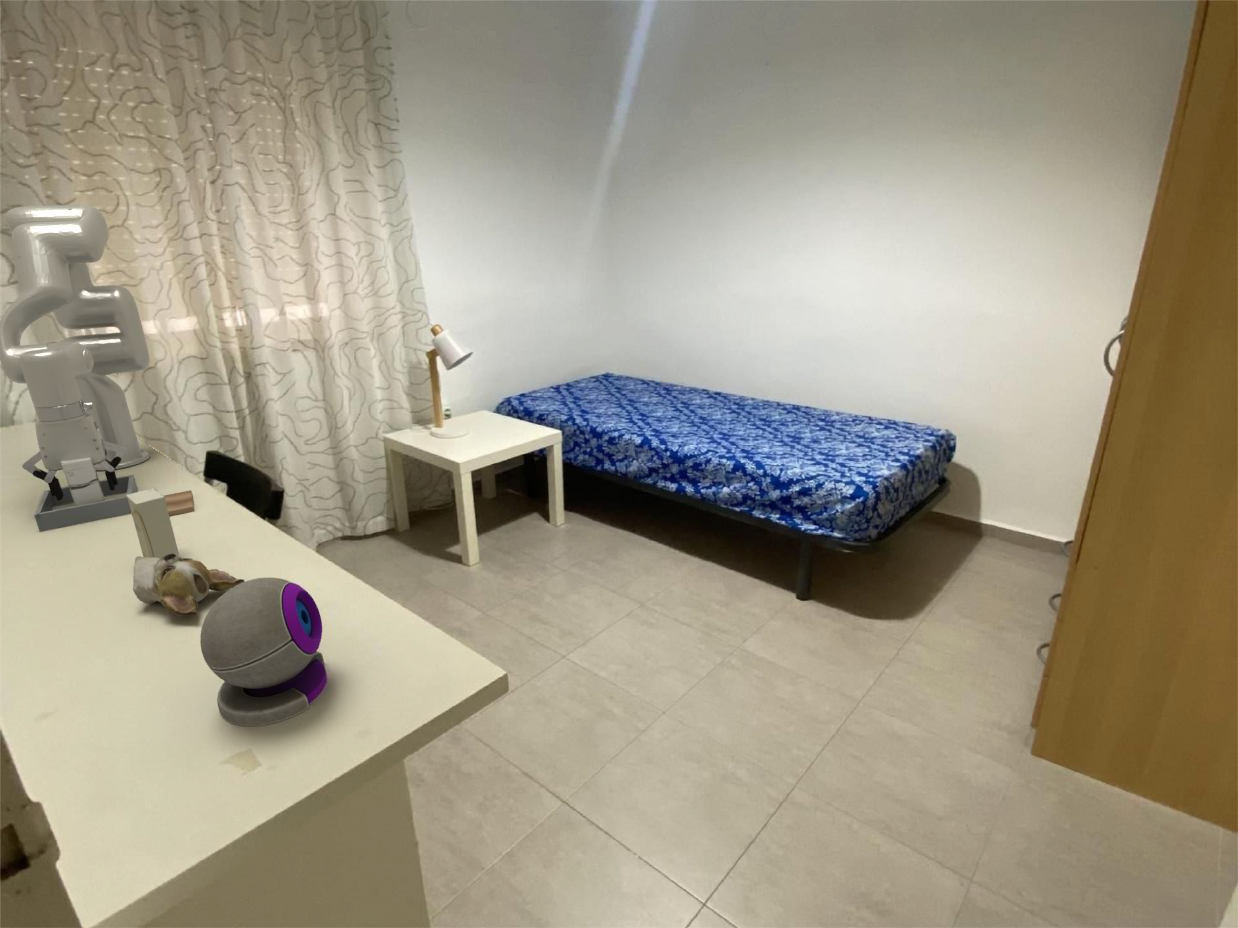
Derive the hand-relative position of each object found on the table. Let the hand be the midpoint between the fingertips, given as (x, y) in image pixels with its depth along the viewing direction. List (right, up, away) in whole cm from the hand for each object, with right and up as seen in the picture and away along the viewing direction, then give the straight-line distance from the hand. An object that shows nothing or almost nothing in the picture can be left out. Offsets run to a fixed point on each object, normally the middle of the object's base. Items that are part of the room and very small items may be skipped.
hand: (87, 493), depth 141 cm
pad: (+16, -3, +1) cm, 17 cm away
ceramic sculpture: (+43, -16, -35) cm, 58 cm away
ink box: (0, -4, +1) cm, 4 cm away
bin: (0, -3, +1) cm, 4 cm away
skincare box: (+30, -11, -21) cm, 38 cm away
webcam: (+67, -22, -56) cm, 90 cm away
